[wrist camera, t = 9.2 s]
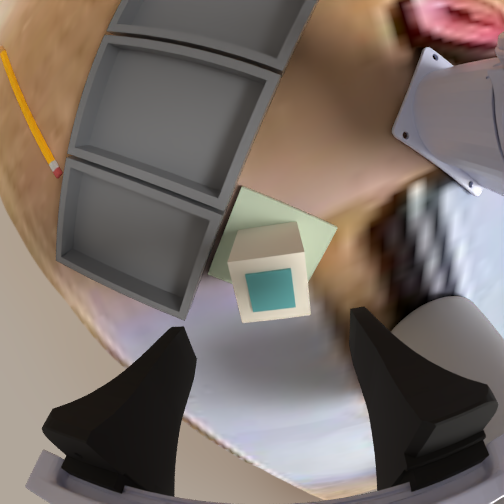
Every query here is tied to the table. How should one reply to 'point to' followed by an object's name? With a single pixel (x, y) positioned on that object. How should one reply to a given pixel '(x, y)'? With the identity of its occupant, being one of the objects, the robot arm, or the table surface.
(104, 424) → the robot arm
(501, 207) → the table surface
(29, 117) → the pencil
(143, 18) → the tray
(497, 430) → the cylinder vase
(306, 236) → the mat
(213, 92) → the tray
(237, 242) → the letter block
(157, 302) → the tray
